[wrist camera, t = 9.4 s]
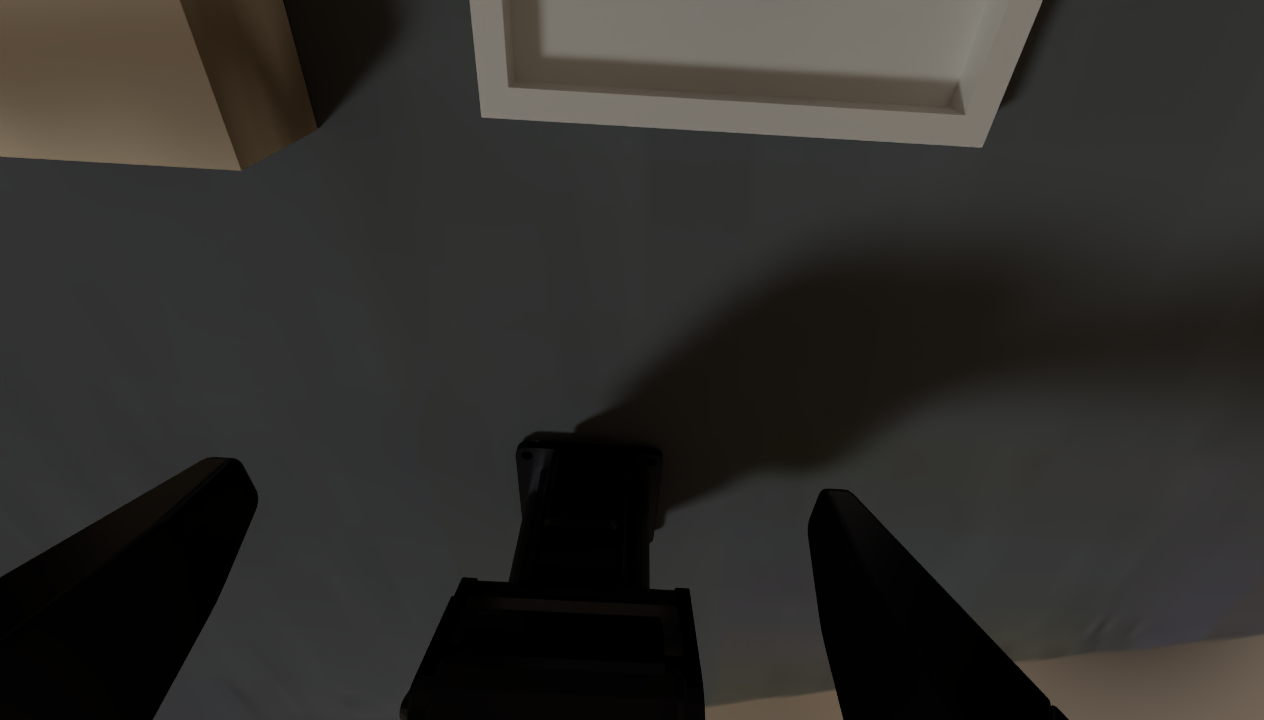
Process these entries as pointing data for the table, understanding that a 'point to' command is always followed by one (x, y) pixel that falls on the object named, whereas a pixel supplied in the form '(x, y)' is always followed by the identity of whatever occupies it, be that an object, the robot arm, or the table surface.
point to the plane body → (150, 82)
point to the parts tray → (755, 65)
